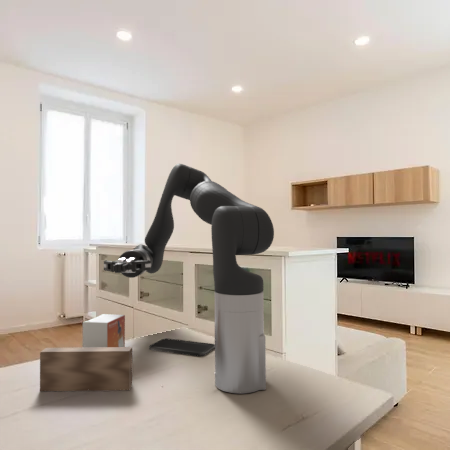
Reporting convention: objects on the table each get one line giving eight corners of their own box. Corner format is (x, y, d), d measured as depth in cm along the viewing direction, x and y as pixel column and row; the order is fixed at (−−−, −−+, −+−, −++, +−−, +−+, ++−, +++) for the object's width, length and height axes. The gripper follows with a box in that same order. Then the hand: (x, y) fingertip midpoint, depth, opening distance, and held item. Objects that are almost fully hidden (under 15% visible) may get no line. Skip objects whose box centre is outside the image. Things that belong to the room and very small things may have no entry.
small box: (106, 376, 73) (107, 322, 74) (81, 374, 75) (81, 321, 75) (125, 362, 81) (125, 314, 82) (102, 360, 82) (102, 313, 83)
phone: (202, 353, 85) (147, 346, 90) (202, 358, 85) (147, 350, 90) (216, 344, 92) (164, 337, 98) (216, 348, 92) (164, 342, 98)
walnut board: (132, 384, 69) (132, 347, 69) (129, 390, 67) (129, 351, 67) (46, 385, 69) (46, 347, 69) (39, 391, 66) (40, 351, 67)
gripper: (111, 249, 106) (90, 252, 88) (158, 249, 106) (145, 252, 89) (111, 276, 106) (90, 284, 88) (158, 275, 106) (145, 284, 88)
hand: (118, 268), depth 88 cm, fingers closed
